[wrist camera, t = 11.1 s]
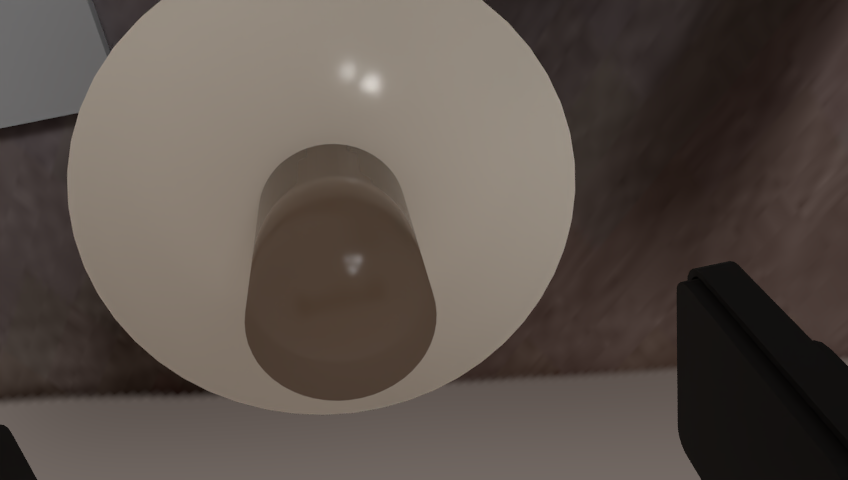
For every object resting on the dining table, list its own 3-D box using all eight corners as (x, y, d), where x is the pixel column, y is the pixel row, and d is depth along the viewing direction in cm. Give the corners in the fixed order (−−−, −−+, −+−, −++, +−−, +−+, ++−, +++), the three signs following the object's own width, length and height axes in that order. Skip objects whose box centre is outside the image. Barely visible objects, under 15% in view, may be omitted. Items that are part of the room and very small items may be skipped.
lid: (-3, 0, 17) (-153, 68, 11) (536, -105, 17) (644, -89, 12) (170, 428, 22) (126, 615, 17) (577, 337, 23) (665, 489, 17)
